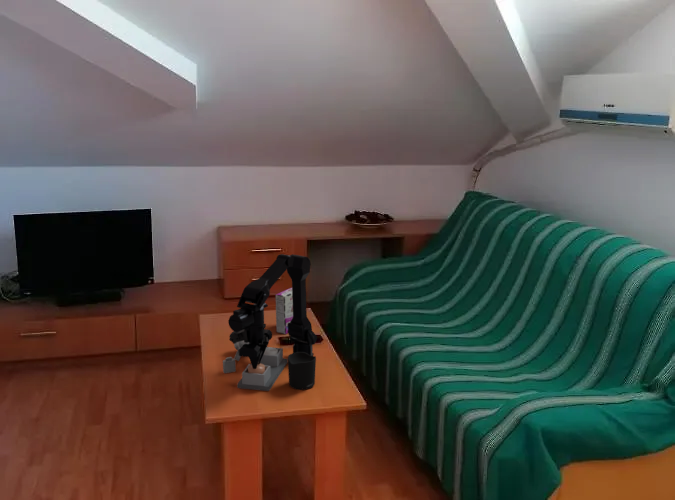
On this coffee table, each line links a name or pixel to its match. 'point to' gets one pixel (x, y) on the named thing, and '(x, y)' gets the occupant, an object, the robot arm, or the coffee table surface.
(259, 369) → the terracotta button
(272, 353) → the grey button
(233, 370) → the lighter
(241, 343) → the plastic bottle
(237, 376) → the coffee table surface
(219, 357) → the coffee table surface
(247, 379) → the twin socket base plate
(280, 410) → the coffee table surface
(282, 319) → the candy bar box
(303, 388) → the pen holder
